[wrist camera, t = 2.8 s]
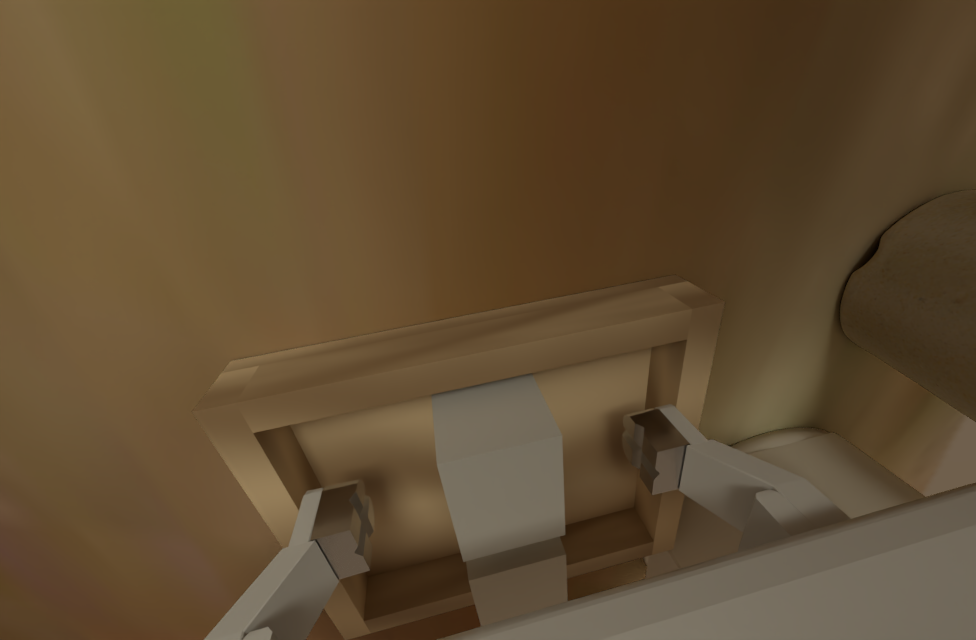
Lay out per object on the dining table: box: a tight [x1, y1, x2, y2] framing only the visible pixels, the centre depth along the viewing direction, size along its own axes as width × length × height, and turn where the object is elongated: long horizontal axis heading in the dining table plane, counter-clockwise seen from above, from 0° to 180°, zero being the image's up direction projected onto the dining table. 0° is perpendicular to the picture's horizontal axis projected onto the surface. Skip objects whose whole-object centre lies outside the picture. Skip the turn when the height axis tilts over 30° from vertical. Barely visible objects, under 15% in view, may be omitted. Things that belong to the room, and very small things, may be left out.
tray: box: [192, 275, 725, 640], centre depth 13 cm, size 12×14×2 cm
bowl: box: [643, 427, 925, 579], centre depth 18 cm, size 12×12×5 cm
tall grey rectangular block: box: [431, 373, 565, 562], centre depth 11 cm, size 4×3×4 cm
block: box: [466, 536, 568, 626], centre depth 13 cm, size 4×3×4 cm
